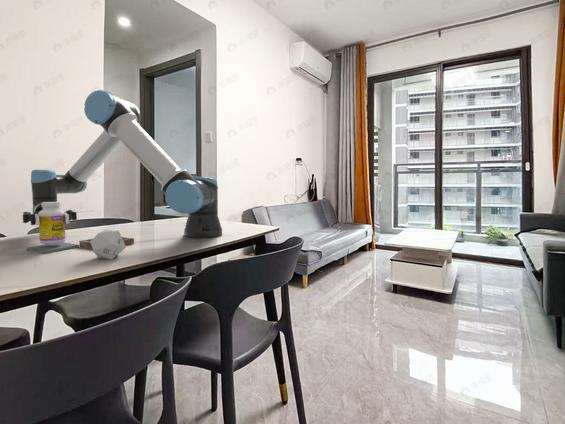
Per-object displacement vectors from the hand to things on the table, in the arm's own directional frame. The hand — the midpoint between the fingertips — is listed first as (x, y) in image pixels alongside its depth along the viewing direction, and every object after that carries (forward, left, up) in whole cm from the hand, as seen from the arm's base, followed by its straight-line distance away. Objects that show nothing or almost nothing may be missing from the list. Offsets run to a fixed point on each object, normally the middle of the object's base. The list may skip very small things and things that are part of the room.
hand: (53, 219), depth 94 cm
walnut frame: (-6, -13, -10) cm, 17 cm away
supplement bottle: (+5, -2, -8) cm, 9 cm away
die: (-21, -3, -10) cm, 23 cm away
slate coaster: (+5, -2, -10) cm, 11 cm away
